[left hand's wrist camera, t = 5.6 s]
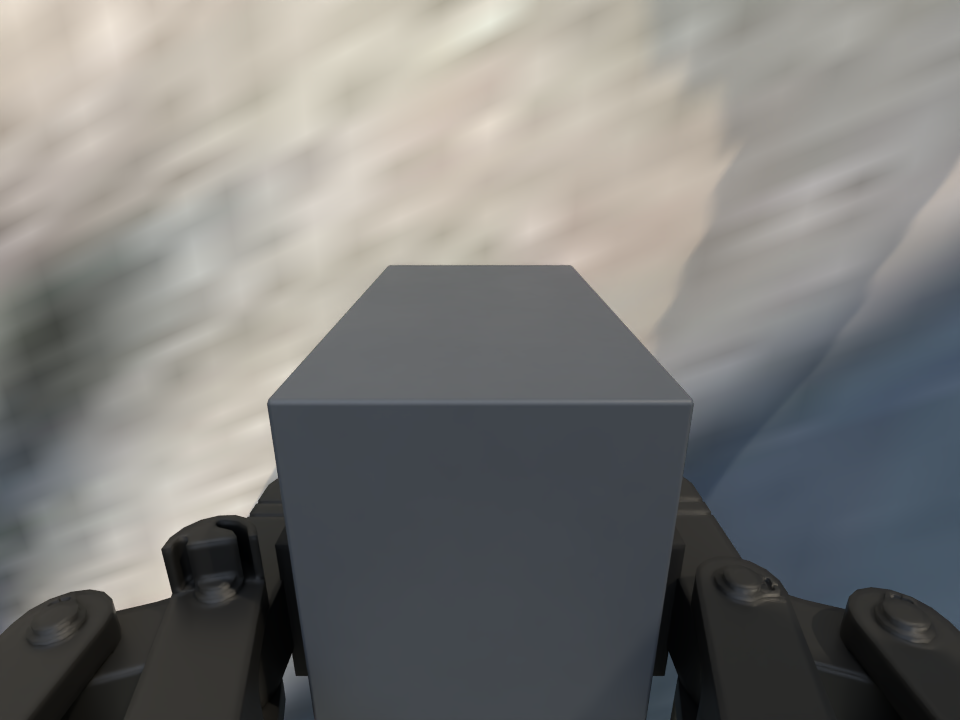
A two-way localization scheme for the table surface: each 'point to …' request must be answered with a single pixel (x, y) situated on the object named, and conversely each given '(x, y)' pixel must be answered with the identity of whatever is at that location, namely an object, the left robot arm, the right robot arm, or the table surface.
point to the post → (480, 499)
